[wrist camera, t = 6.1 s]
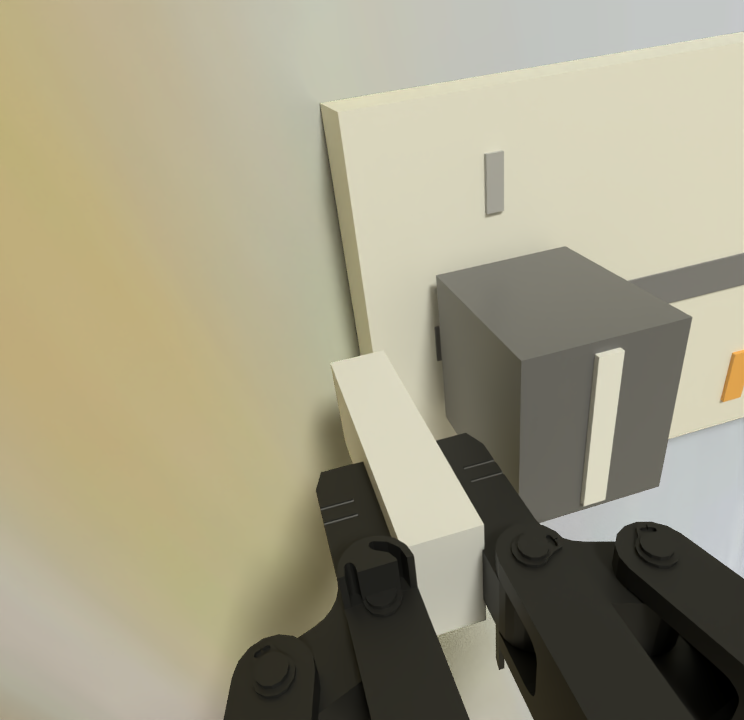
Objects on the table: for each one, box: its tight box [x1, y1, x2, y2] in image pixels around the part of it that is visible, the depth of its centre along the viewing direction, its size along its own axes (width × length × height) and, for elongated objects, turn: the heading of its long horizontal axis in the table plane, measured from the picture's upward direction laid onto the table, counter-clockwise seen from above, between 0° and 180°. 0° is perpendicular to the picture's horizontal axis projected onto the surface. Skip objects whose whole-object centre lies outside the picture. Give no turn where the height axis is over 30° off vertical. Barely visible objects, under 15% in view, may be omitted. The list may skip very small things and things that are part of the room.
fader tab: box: [436, 246, 692, 523], centre depth 15 cm, size 4×5×5 cm
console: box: [320, 32, 744, 440], centre depth 20 cm, size 24×14×3 cm, turn 97°
